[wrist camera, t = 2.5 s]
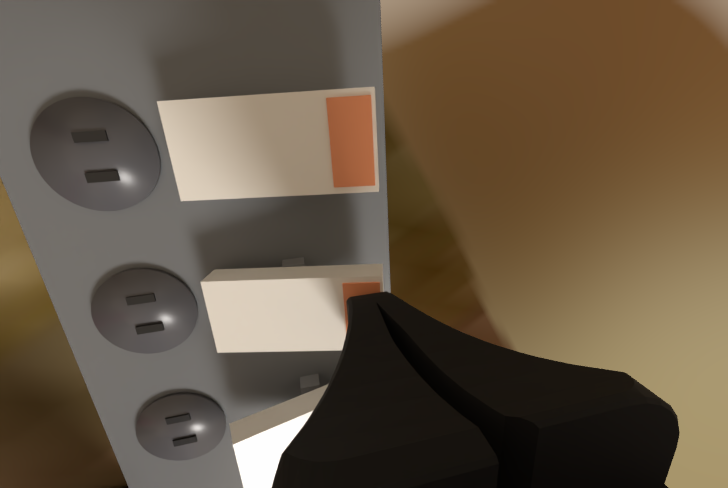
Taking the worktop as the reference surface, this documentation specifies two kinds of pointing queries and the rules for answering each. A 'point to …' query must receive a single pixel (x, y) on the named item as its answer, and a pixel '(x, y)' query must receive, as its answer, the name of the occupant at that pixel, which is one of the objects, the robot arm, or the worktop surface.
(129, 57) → the power strip
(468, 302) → the worktop surface
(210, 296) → the middle rocker
